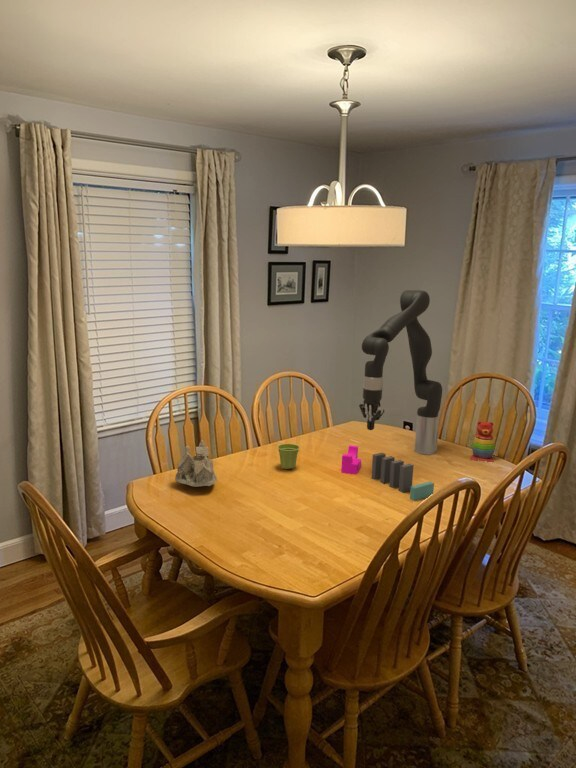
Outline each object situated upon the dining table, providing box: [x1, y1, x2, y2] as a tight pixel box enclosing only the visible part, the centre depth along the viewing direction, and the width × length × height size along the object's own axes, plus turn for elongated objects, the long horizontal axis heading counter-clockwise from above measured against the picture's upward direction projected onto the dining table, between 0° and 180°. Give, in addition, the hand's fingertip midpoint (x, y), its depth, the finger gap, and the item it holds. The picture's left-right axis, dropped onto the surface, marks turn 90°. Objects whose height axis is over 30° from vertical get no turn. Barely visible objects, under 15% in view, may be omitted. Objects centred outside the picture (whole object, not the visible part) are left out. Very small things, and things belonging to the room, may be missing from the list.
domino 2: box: [379, 455, 396, 485], centre depth 220 cm, size 2×5×10 cm, turn 124°
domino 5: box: [409, 481, 435, 502], centre depth 206 cm, size 2×5×10 cm
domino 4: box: [398, 463, 415, 493], centre depth 212 cm, size 2×5×10 cm, turn 124°
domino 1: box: [371, 452, 387, 481], centre depth 224 cm, size 2×5×10 cm, turn 123°
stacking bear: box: [469, 421, 496, 463], centre depth 247 cm, size 11×10×18 cm
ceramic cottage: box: [174, 439, 218, 488], centre depth 215 cm, size 16×16×15 cm
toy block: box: [340, 445, 362, 475], centre depth 235 cm, size 15×6×8 cm, turn 162°
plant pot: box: [276, 443, 300, 470], centre depth 234 cm, size 9×9×9 cm
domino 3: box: [388, 459, 405, 489], centre depth 216 cm, size 2×5×10 cm, turn 124°
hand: (370, 429), depth 226 cm, fingers closed
